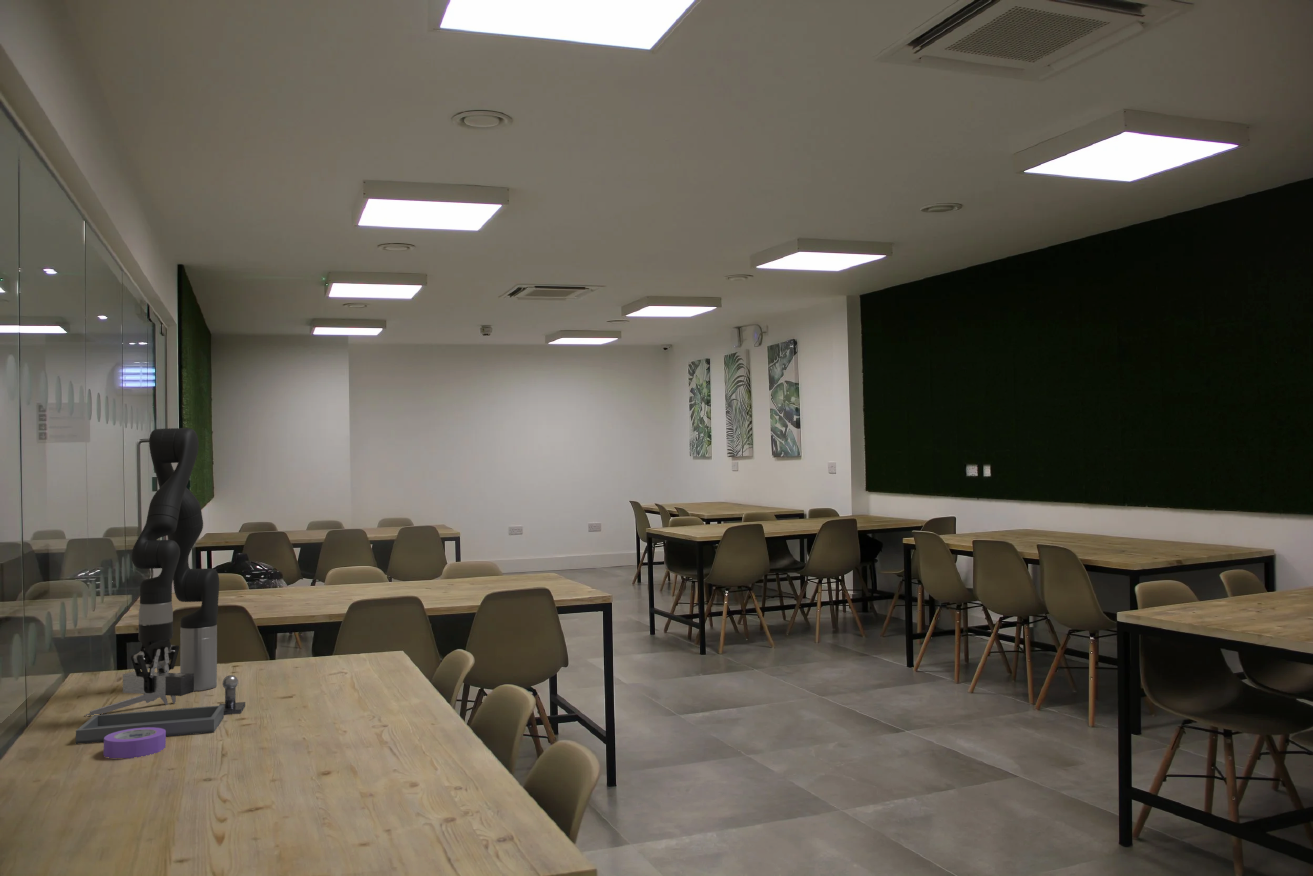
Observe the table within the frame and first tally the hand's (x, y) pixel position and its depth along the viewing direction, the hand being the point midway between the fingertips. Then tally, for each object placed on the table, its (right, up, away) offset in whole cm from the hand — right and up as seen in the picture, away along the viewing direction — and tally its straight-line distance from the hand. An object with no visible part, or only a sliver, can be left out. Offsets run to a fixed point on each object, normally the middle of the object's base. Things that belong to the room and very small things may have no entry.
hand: (155, 690), depth 230 cm
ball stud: (+16, -6, +4) cm, 18 cm away
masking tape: (+11, -5, -29) cm, 32 cm away
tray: (+7, -6, -13) cm, 16 cm away
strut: (0, 0, 0) cm, 0 cm away
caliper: (-10, -7, +7) cm, 14 cm away
